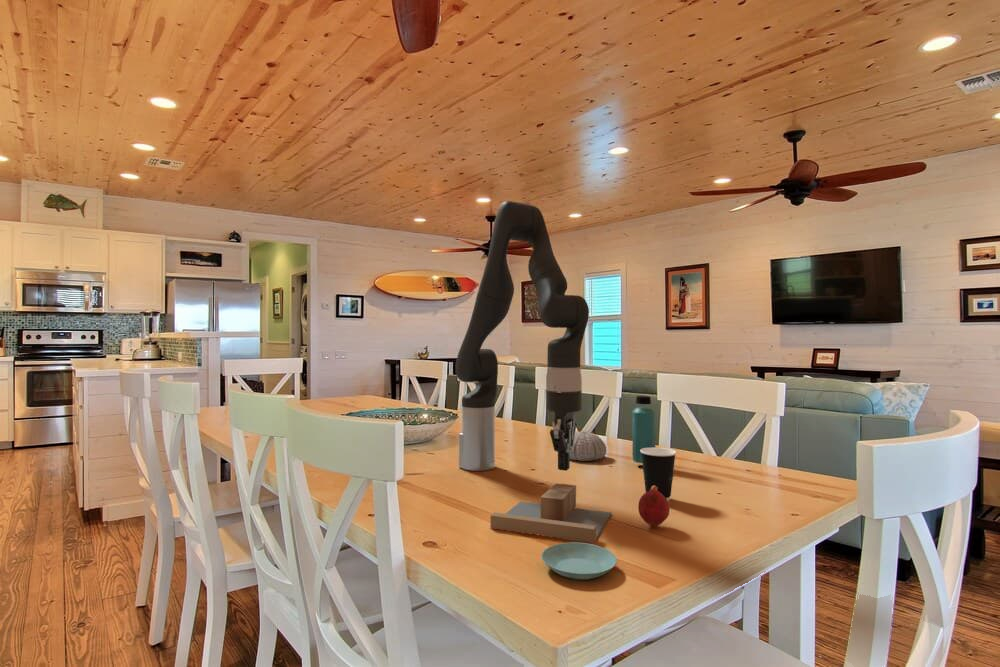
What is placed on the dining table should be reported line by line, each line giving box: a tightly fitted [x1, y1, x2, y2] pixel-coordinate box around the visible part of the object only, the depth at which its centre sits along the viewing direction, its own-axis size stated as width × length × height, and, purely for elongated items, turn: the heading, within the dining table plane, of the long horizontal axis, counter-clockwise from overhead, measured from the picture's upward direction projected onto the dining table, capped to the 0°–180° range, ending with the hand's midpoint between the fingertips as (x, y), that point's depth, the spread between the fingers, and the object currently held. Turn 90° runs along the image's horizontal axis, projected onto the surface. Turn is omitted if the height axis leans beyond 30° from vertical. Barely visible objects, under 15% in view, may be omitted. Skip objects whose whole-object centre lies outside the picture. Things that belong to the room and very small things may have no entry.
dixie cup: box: [640, 447, 677, 502], centre depth 124 cm, size 8×8×11 cm
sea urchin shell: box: [570, 431, 608, 462], centre depth 165 cm, size 13×14×8 cm
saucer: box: [540, 541, 618, 581], centre depth 87 cm, size 12×12×2 cm
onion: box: [637, 485, 670, 528], centre depth 106 cm, size 6×6×8 cm
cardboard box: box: [540, 482, 577, 521], centre depth 113 cm, size 4×4×11 cm
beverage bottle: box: [631, 395, 657, 464], centre depth 155 cm, size 6×7×20 cm
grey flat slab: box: [490, 501, 612, 544], centre depth 109 cm, size 20×17×2 cm
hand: (563, 469), depth 116 cm, fingers closed
